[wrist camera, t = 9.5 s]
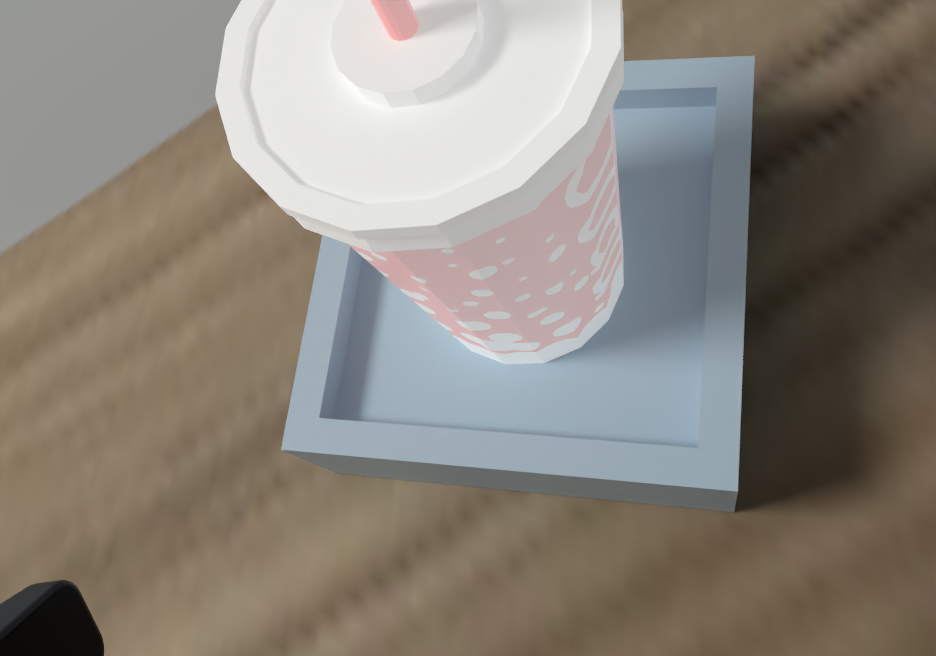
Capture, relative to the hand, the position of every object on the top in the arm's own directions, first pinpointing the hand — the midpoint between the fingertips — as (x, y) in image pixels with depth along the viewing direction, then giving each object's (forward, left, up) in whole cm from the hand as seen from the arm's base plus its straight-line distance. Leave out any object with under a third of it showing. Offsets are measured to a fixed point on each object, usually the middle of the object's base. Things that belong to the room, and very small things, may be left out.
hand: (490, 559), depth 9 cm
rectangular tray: (+7, +3, -13) cm, 15 cm away
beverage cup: (+7, +2, -10) cm, 13 cm away
